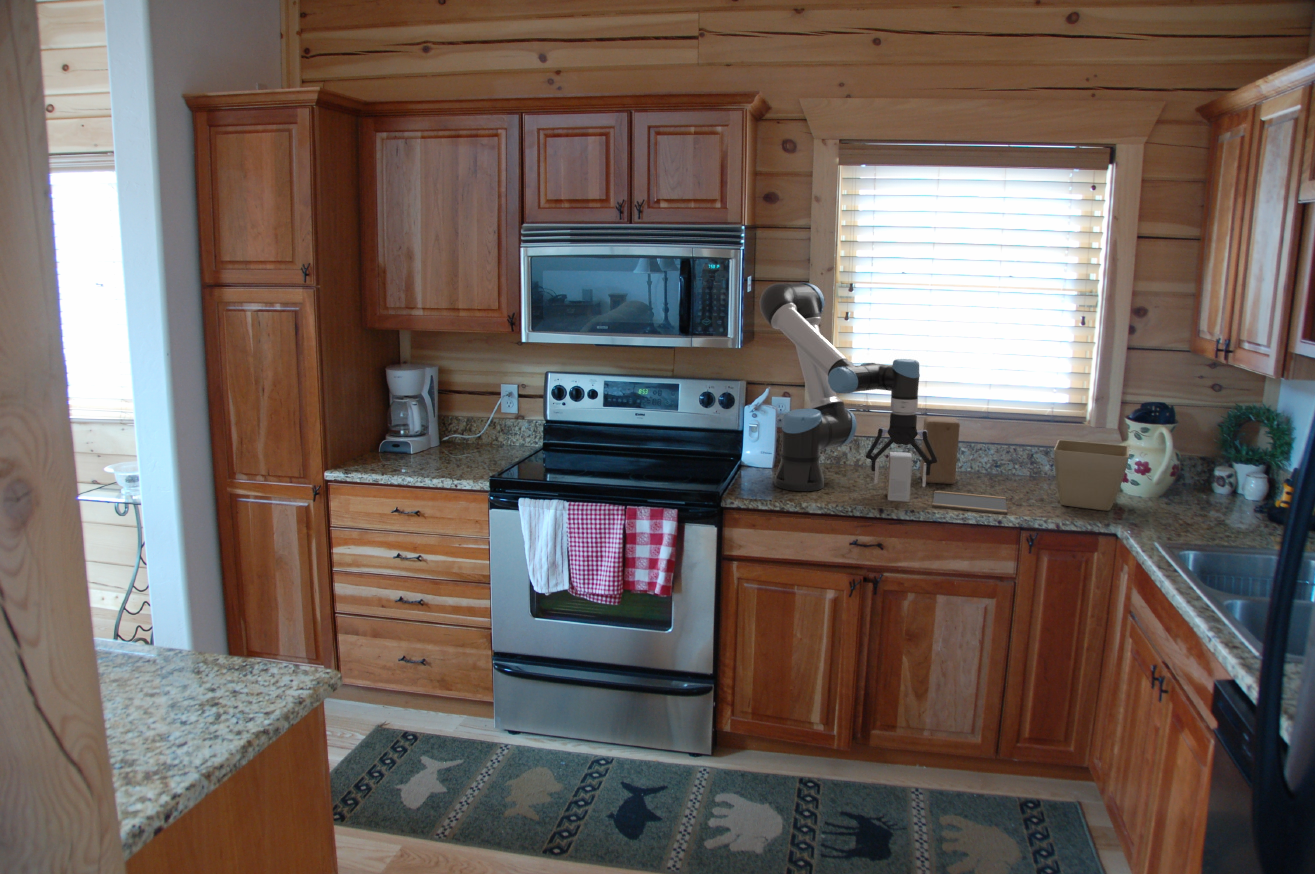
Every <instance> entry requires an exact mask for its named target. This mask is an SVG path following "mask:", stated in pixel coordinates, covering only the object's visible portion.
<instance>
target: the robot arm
mask: <svg viewBox="0 0 1315 874" xmlns="http://www.w3.org/2000/svg"><path fill="white" fill-rule="evenodd" d="M761 293H762V294H761V296H760V299H759V308H760V309H759V310H760V313H761V315H762V317H763V318H764V320H765V321H766V322H767V323H768V324H769V325H770V326H771V327H772V329H774V330H780V332H782V334H784V336H786V337H787V338H788V339H789V340H790V341H791V342H792V343H793V344H794V345H795V349H796V353H797V357H798V360H799V364H800V369H801V372H802V377H803V379H804V384H805V387H806V392H807V395H808V399H809V403H810V404H809V406H808V408H797V409H793V410H789V411H787V412H785V414H784V415H783V417H782V425H781V457H780V463H779V465H778V468H777V469H776V474H775V476H774V486H775V487H777V488H779V489H782V490H787V491H793V492H815V491H820V490H822V489H824V487H825V479H824V474H823V471H822V467H821V464H820V454H821V452H820V451H821V450H824V449H825V450H826V449H831V448H839V447H842V446H845V445H848V444H849V443H850V442H851V441H852V440H853V439H854V436H855V435H856V432H857V426H858V425H857V423H858V422H857V419H856V417H855V415H854V413H853V412H852V411H851V410H849V409H847V408H846V407H845V403H844V400H842V399H840V398H839V397H838V394H852V393H856V392H865V391H871V390H872V391H873V390H881V391H889V392H890V391H891V392H890V394H891V395H890V411H891V413H890V414H889V427H888V428H884V427H883V426H881V427H879V428H878V430H877V436H876V438H875V439H874V441H873V442H872V444H871V446H870V448H869V449H868V451H867V452H866V454H865V459H869V460H870V461H871V466H870V467H871V468H870V469H871V472H874V484H878V482H879V469H880V468H879V467H880V459H878V458H879V457H881V455H883V454H884V452H886V450H888V448H889V447H890V446H892V444H896V445H902V446H903V445H904V446H908V445H910V446H911V447H912V448H914V450H915V451H916V453H917V454H918V455H919V456H920V459H921V458H922V459H923V460H924V461H925V463H924V466H923V480H922V483H921V484H922V488H925V487H926V485H927V483H926V475H930V469H931V464H933V463H937V460H938V459H937V457H936V455H935V452H934V450H933V448H932V446H931V444H930V441H929V439H928V435H927V430H918V429H917V424H918V423H917V422H918V421H917V420H918V415H917V412H918V407H919V398H918V397H919V384H920V383H919V382H920V376H921V375H920V363H919V361H918V360H916V359H911V358H909V359H907V358H897V359H896V358H895V359H894V360H893V361H892V364H882V363H876V362H862V363H861V364H860V365H854V363H852V362H851V361H850V360H849V359H848V358H846V357H845V355H843V354H842V353H841V352H840V351H839V350H838V349H837V348H836V346H835V345H833V344H832V343H831V342H829V340H828V339H826V338H825V336H824V335H822V334H821V329H820V327H819V325H820V323H821V321H822V314H823V312H824V309H823V308H825V298H824V295H823V292H822V291H821V289H820V288H818V286H816V285H814V284H812V283H808V282H802V281H801V282H777V283H774V284H773V283H772V284H770V285H769V286H767V287H766V288H765V289H764V290H763V292H761ZM886 434H887V435H888V436H889V440H888V441H886V442H885V444H883V446H881V448H879V450H878V451H876V453H874V454H873V452H874V451H875V449H876V447H877V446H878V444H879V442H880V441H881V438H882V437H884V436H885V435H886ZM917 436H919V438H920V439H922V441H924V443H925V445H926V448H927V450H928V452H929V454H930V456H931V458H932V459H929V457H928V456H927V455H926V454H925V452H924V451H923V450H922V446H920V444H918V442H917V440H915V439H916V437H917Z"/></svg>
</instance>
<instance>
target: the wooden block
mask: <svg viewBox="0 0 1315 874" xmlns="http://www.w3.org/2000/svg"><path fill="white" fill-rule="evenodd" d="M960 426H961V425H960V423H959V420H958V419H957V418H955V417H953V416H951V417H950V416H931V415H930V416H929V415H928V416H924V419H923V430H927V435H928V439H929V441H930V444H931V446H932V448H933V450H934V452H935V455H936V457H937V459H938V460H937V463H933V464H931V469H930V475H926V484H944V485H945V484H946V485H947V484H948V485H953V484H955V483H956V475H957V462H958V451H959V450H958V449H959V437H960V436H959V435H960ZM923 430H922V431H923ZM921 441H922V443H921V449H922V450H923V451H924V452H925V454H926V455H927V456H928V457H929V459H932V458H931V456H930V454H929V452H928V450H927V448H926V445H925V443H924V441H923V440H921ZM924 463H925V461H924V460H923V459H922V458H921V457H920V469H919V474H920V477H921V479H922V481H923V466H924Z"/></svg>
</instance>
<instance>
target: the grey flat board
mask: <svg viewBox="0 0 1315 874" xmlns="http://www.w3.org/2000/svg"><path fill="white" fill-rule="evenodd" d="M1006 499H1007V497H1005V496H993V495H984V494H982V495H981V494H973V493H962V492H952V491H951V492H950V491H943V490H942V491H941V490H935V491H934V494H933V500H932V504H931V507H932V508H938V509H945V510H946V509H948V510H957V511H959V510H960V511H967V510H968V511H967V512H970V511H971V512H977V513H978V512H979V513H990V514H999V515H1008V505H1007V500H1006Z"/></svg>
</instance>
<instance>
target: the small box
mask: <svg viewBox="0 0 1315 874" xmlns="http://www.w3.org/2000/svg"><path fill="white" fill-rule="evenodd" d="M888 456H889V458H888V471H887V472H888V473H887V474H888V475H887V488H886V495H887V501H892V502H893V501H894V502H895V501H896V502H907V503H909V502H910V499H911V498H910V497H911V482H912V481H911V479H912V467H913V466H912V465H913V455H912V453H910V452H903V451H902V452H901V451H900V452H899V451H889V453H888Z"/></svg>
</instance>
